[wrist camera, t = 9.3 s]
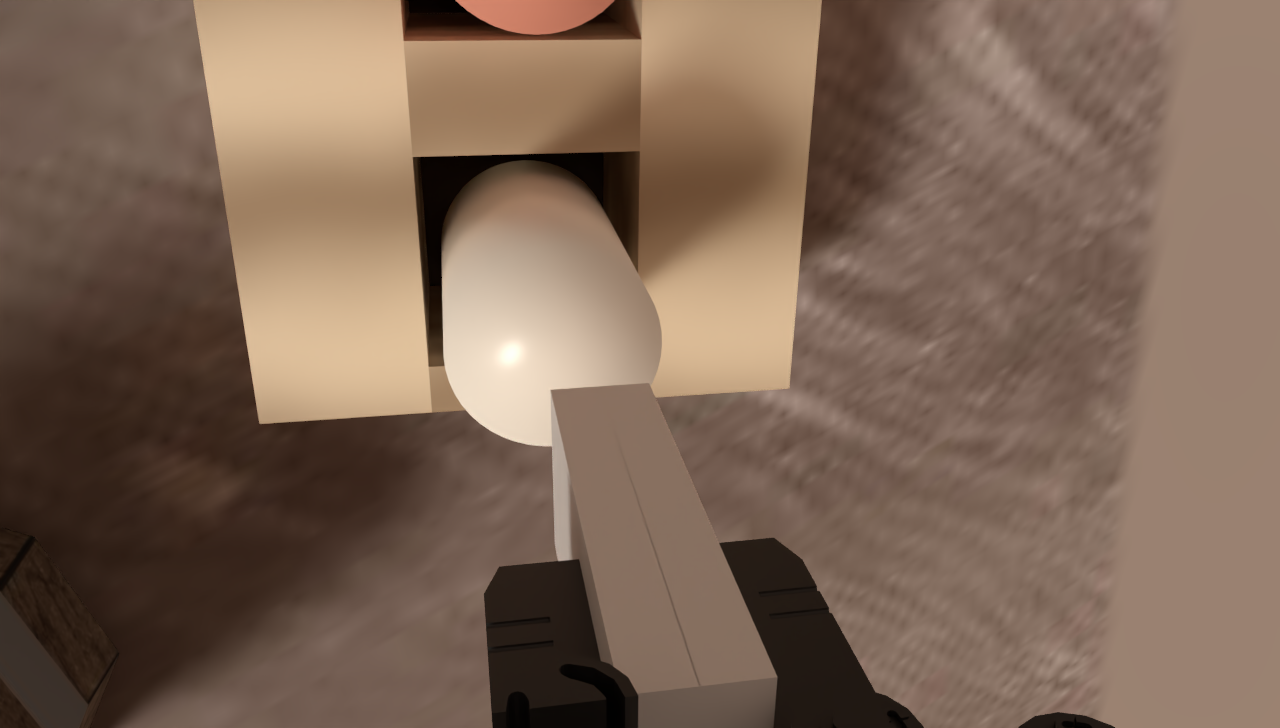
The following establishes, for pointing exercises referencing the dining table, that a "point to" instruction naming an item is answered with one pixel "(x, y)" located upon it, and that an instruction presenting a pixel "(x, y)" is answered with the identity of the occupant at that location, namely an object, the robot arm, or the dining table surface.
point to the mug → (46, 643)
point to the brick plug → (535, 13)
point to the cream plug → (538, 298)
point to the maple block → (500, 125)
